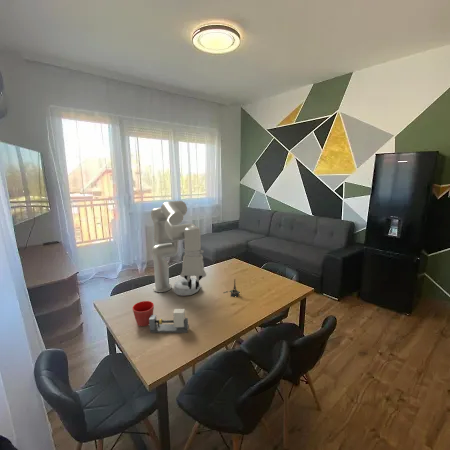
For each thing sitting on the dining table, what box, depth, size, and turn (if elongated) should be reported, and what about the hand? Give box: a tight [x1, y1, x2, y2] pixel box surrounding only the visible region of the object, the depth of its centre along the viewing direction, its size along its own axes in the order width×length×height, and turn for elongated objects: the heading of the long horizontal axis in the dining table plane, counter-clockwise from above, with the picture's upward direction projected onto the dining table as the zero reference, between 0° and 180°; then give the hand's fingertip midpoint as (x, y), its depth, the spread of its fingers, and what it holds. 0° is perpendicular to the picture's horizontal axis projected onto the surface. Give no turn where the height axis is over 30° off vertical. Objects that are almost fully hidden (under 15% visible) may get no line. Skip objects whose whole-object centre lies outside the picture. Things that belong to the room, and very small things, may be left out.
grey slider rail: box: [148, 314, 190, 334], centre depth 126 cm, size 19×6×7 cm, turn 90°
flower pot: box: [132, 300, 155, 327], centre depth 131 cm, size 11×11×10 cm
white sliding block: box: [172, 308, 186, 327], centre depth 125 cm, size 5×4×8 cm
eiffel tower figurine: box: [223, 280, 241, 298], centre depth 161 cm, size 15×10×13 cm
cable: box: [173, 277, 202, 297], centre depth 168 cm, size 18×18×6 cm
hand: (193, 287), depth 121 cm, fingers open, 2 cm apart
